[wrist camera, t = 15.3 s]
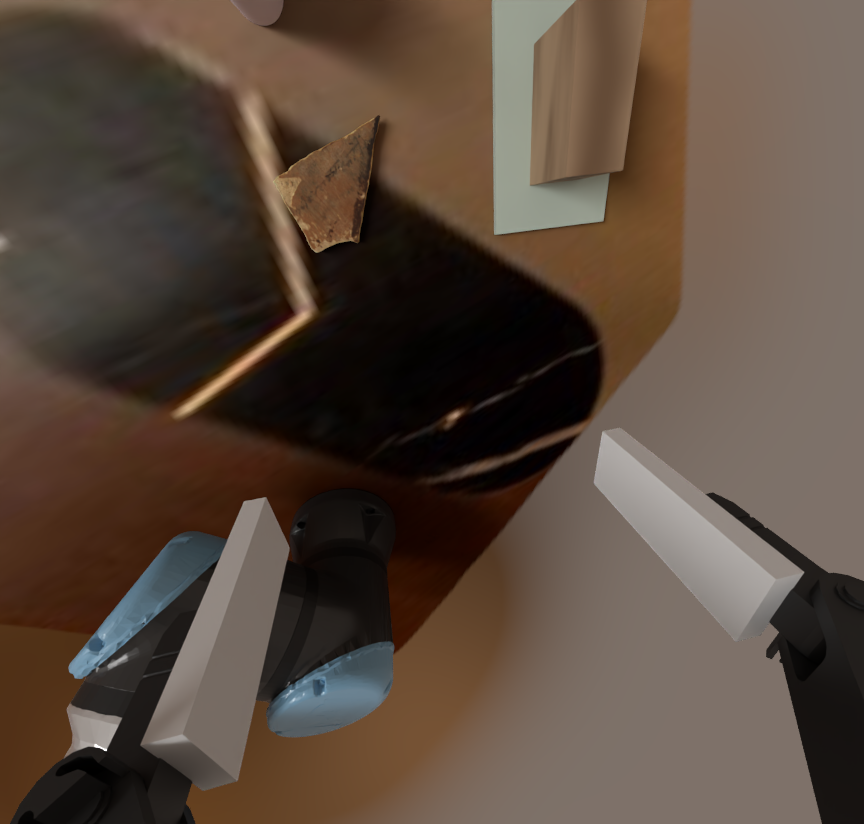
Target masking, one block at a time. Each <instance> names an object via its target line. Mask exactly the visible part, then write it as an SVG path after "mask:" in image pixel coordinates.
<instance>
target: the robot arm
mask: <svg viewBox="0 0 864 824" xmlns="http://www.w3.org/2000/svg"><path fill="white" fill-rule="evenodd" d="M594 484H595V485H596V487H597V488H598V489H599V490H600V491H601V492H602V493H603V494H604V496H606V498H607V499H608V500H609V501H610V502H611V503H612V504H613V506H614V507H615V508H616V509H617V510H618V511H619V512H620V513H621V514H622V516H623V517H624V518H625V519H626V520H627V521H628V522H629V523H630V524H631V525H632V527H633V528H634V529H635V530H636V531H637V532H638V533H639V534H640V536H641V537H642V538H643V539H644V540H645V541H646V542H647V543H648V544H649V546H650V547H651V548H652V549H653V550H654V551H655V552H656V553H657V554H658V556H659V557H660V558H661V559H662V560H663V561H664V562H665V563H666V565H667V566H668V567H669V568H670V569H671V570H672V571H673V572H674V574H675V575H676V576H677V577H678V578H679V579H680V580H681V581H682V582H683V584H684V585H685V586H686V587H687V588H688V589H689V590H690V591H691V592H692V593H693V595H694V596H695V597H696V598H697V599H698V600H699V601H700V602H701V603H702V605H703V606H704V607H705V608H706V609H707V610H708V611H709V612H710V614H711V615H712V616H713V617H714V618H715V619H716V620H717V621H718V622H719V624H720V625H721V626H722V627H723V628H724V629H725V630H726V631H727V632H728V634H729V635H730V636H731V637H732V638H733V639H734V640H735V641H736V642H738V641H741V640H745V639H749V638H752V637H756V636H759V635H761V634H762V632H763V631H764V630H765V628H766V626H767V625H768V623H769V622H770V623H771V624H772V625H773V626H774V627H775V628H776V629H777V630H778V631H779V633H778V635H777V636H776V638H775V639H774V640H773V642H772V643H771V644H770V646H769V647H768V648H767V651H766V657H767V658H770V659H772V658H773V657H774V655H775V654H776V653H777V651H778V650H779V652H780V656H781V659H780V663H782V664H783V668H784V672H785V676H786V680H787V684H788V688H789V692H790V696H791V700H792V704H793V708H794V712H795V716H796V720H797V725H798V729H799V732H800V737H801V741H802V745H803V749H804V753H805V757H806V761H807V765H808V769H809V773H810V777H811V781H812V785H813V789H814V793H815V797H816V801H817V805H818V809H819V813H820V817H821V821H822V824H864V581H862V580H859V579H856V578H854V577H851V576H848V575H843V574H838V573H828V572H826V571H825V570H823V569H822V568H820V567H819V566H818V565H816V564H815V563H814V562H812V561H811V560H810V559H808V558H807V557H805V556H804V555H803V554H801V553H800V552H799V551H798V550H796V549H795V548H793V547H792V546H791V545H790V544H788V543H787V542H785V541H784V540H783V539H781V538H780V537H779V536H777V535H776V534H775V533H773V532H772V531H771V530H769V529H768V528H765V527H764V526H763V524H761V523H760V522H759V521H757V520H756V519H755V518H753V517H752V518H751V517H750V515H749V514H748V513H747V512H745V511H744V510H743V509H741V508H740V507H739V506H737V505H736V504H735V503H733V502H731V501H729V500H727V499H725V498H723V497H721V496H719V495H716V494H715V493H709V494H704V493H702V491H700V490H699V489H698V488H696V487H695V486H694V485H693V484H691V483H690V482H689V481H688V480H686V479H685V478H684V477H682V476H681V475H680V474H679V473H677V472H676V471H675V470H673V469H672V468H671V467H669V466H668V465H667V464H666V463H665V462H663V461H662V460H661V459H659V458H658V457H657V456H656V455H654V454H653V453H652V452H651V451H649V450H648V449H647V448H645V447H644V446H643V445H641V444H640V443H639V442H638V441H636V440H635V439H634V438H633V437H631V436H630V435H629V434H628V433H626V432H625V431H624V430H622V429H621V428H616V429H611V430H606V431H603V432H602V438H601V444H600V449H599V455H598V461H597V467H596V472H595V478H594ZM395 537H396V526H395V518H394V514H393V512H392V510H391V508H390V507H389V505H388V504H387V503H386V502H385V501H384V500H382V499H381V498H379V497H378V496H376V495H374V494H372V493H369V492H366V491H362V490H356V489H338V490H332V491H328V492H324V493H321V494H319V495H317V496H315V497H313V498H311V499H310V500H308V501H307V502H305V503H304V504H303V505H302V506H301V507H300V508H299V510H298V511H297V512H296V514H295V516H294V519H293V522H292V526H291V531H290V547H291V552H292V557H293V562H292V561H289V560H287V558H288V553H289V549H290V548H289V546H288V543H287V541H286V539H285V537H284V535H283V533H282V531H281V528H280V526H279V524H278V522H277V520H276V518H275V515H274V513H273V511H272V509H271V507H270V505H269V503H268V500H267V498H266V497H265V498H260V499H254V500H249V501H244V503H243V505H242V508H241V510H240V512H239V515H238V517H237V519H236V522H235V524H234V526H233V529H232V531H231V533H230V536H229V538H228V539H223V538H220V537H216V536H213V535H209V534H205V533H202V532H197V531H189V532H185V533H182V534H179V535H178V536H176V537H174V538H173V539H172V540H171V541H170V542H169V543H168V544H167V545H166V546H165V547H164V549H163V550H162V551H161V552H160V553H159V555H158V556H157V557H156V558H155V560H154V561H153V562H152V563H151V564H150V566H149V567H148V568H147V569H146V571H145V572H144V573H143V574H142V576H141V577H140V578H139V579H138V581H137V582H136V583H135V584H134V585H133V587H132V588H131V589H130V590H129V591H128V593H127V594H126V595H125V596H124V598H123V599H122V600H121V601H120V603H119V604H118V605H117V606H116V608H115V609H114V610H113V611H112V612H111V614H110V615H109V616H108V617H107V619H106V620H105V621H104V622H103V624H102V625H101V626H100V627H99V629H98V630H97V631H96V632H95V634H94V635H93V636H92V637H91V639H90V640H89V641H88V642H87V644H86V645H85V646H84V647H83V648H82V650H81V651H80V652H79V654H78V655H77V656H76V657H75V658H74V660H73V661H72V662H71V663H70V665H69V672H70V673H72V674H73V675H74V677H75V678H78V679H82V678H83V677H84V676H87V677H86V679H85V681H84V682H83V684H82V685H81V687H80V689H79V690H78V692H77V693H76V695H75V697H74V698H73V700H72V701H71V703H70V704H69V707H68V708H67V712H68V716H69V720H70V724H71V728H72V732H73V741H72V745H71V747H70V749H69V750H68V752H67V754H66V756H65V757H64V759H62V760H61V761H59V762H58V763H56V764H55V765H54V766H53V767H52V768H51V769H50V770H49V771H48V772H47V773H46V774H45V775H44V776H43V777H41V778H40V780H38V781H37V782H36V784H35V785H34V787H33V788H32V789H31V790H30V792H29V793H28V794H27V796H26V797H25V798H24V799H23V801H22V802H21V803H20V805H19V807H18V809H17V811H16V813H15V815H14V817H13V819H12V821H11V823H10V824H195V821H194V818H193V816H192V813H191V810H190V809H189V807H188V806H187V805H186V801H187V797H188V794H189V791H190V787H191V784H192V783H193V784H194V785H196V786H197V787H199V788H200V789H201V790H203V791H204V790H207V789H211V788H214V787H218V786H222V785H225V784H229V783H232V782H236V781H238V777H239V772H240V768H241V763H242V758H243V754H244V750H245V745H246V741H247V736H248V732H249V727H250V723H251V718H252V714H253V709H254V705H255V701H256V700H258V701H266V702H268V703H270V704H269V707H268V708H267V712H266V716H267V723H268V727H269V729H270V730H271V731H272V732H275V733H276V734H277V735H279V736H284V737H305V736H311V735H317V734H322V733H325V732H329V731H333V730H336V729H339V728H341V727H344V726H346V725H349V724H351V723H353V722H355V721H357V720H359V719H361V718H363V717H364V716H366V715H368V714H369V713H371V712H372V711H373V710H374V709H376V708H377V707H378V706H379V705H380V704H381V703H382V702H383V701H384V700H385V698H386V697H387V695H388V694H389V691H390V689H391V686H392V682H393V652H394V645H393V638H392V627H391V615H390V603H389V591H388V579H387V566H388V562H389V559H390V555H391V552H392V549H393V545H394V542H395Z"/></svg>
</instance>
